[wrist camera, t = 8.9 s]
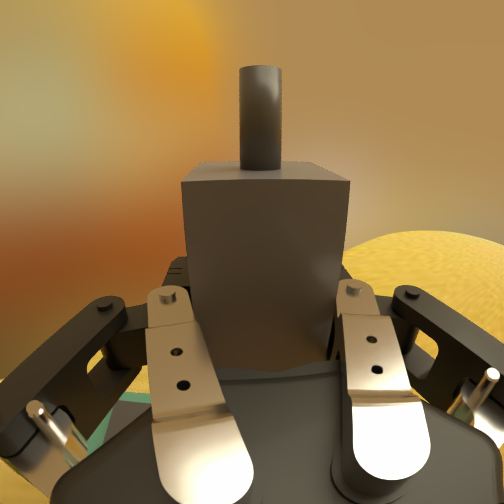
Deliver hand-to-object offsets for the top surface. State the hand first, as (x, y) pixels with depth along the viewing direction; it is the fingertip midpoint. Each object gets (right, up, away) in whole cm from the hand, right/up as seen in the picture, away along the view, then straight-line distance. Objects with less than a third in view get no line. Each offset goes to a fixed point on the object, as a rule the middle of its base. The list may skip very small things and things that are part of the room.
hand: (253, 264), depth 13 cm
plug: (0, -7, 0) cm, 7 cm away
